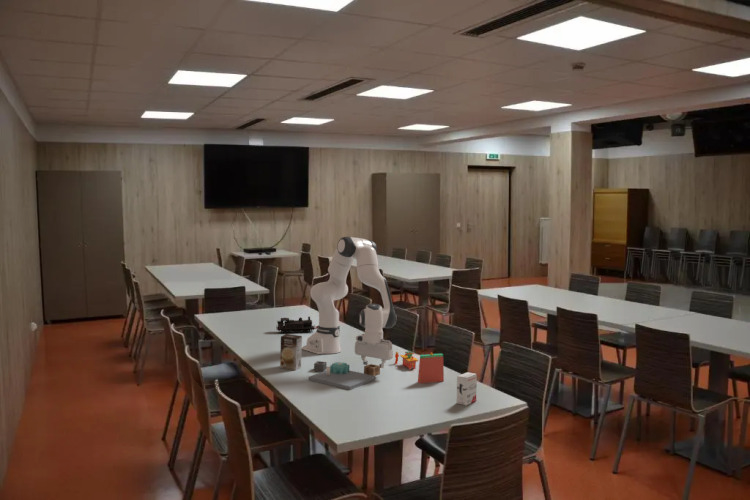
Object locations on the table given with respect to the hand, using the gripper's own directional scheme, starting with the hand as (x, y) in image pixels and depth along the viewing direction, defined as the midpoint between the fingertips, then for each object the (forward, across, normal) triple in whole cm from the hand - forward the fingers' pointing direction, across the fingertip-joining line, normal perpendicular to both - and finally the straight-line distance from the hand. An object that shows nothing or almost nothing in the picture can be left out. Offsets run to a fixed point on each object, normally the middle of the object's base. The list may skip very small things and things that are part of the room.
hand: (373, 366), depth 284 cm
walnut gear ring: (+4, +1, 0) cm, 4 cm away
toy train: (+3, +89, -47) cm, 101 cm away
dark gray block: (+4, +25, +10) cm, 27 cm away
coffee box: (+4, +39, +16) cm, 42 cm away
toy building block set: (+5, -15, -17) cm, 23 cm away
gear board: (+4, +7, +16) cm, 18 cm away
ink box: (+5, -53, +10) cm, 54 cm away
